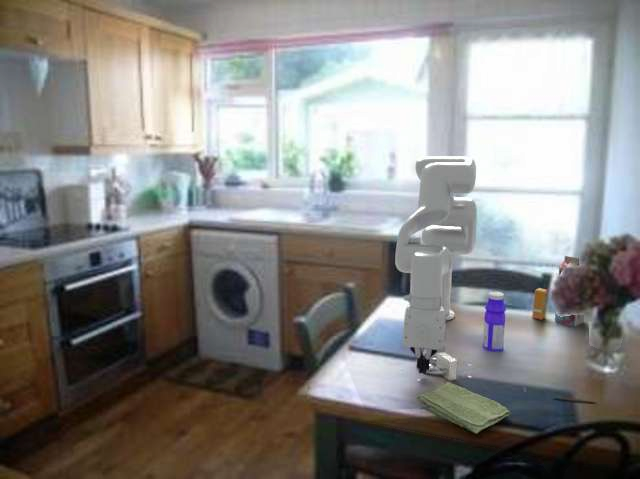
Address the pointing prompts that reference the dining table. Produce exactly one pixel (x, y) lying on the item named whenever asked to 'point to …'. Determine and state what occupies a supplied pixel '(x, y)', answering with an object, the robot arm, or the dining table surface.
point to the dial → (443, 366)
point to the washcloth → (463, 407)
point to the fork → (572, 399)
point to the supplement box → (539, 303)
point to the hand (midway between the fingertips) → (422, 371)
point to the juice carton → (572, 319)
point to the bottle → (494, 322)
